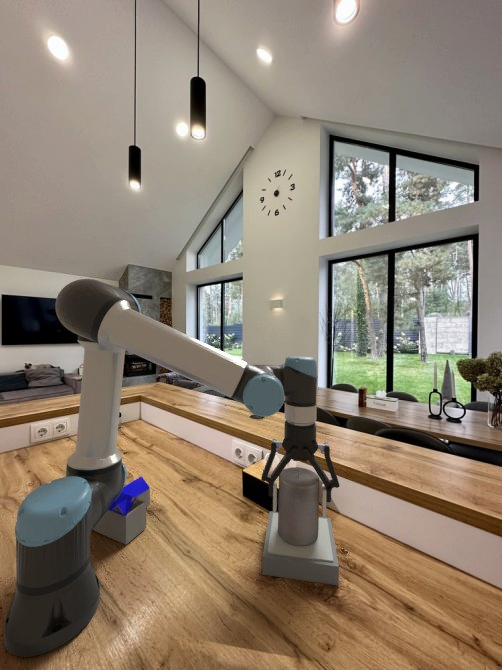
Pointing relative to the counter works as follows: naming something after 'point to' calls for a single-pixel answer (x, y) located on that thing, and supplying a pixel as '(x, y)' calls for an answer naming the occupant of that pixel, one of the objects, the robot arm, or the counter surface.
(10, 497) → the counter surface
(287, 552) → the plinth
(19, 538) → the robot arm
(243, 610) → the counter surface
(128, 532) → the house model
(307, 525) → the pillar candle
